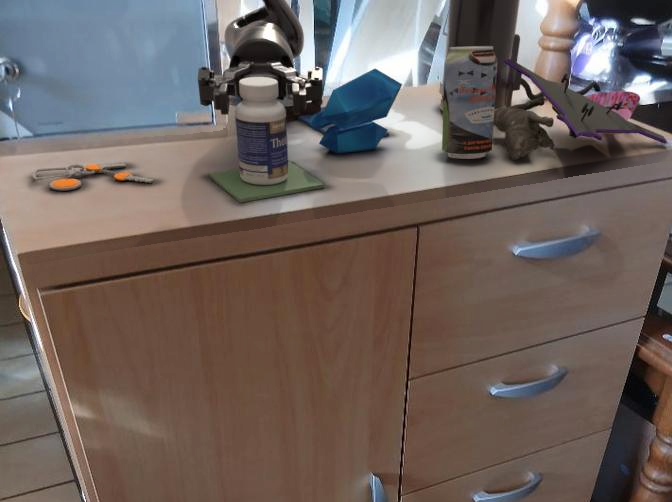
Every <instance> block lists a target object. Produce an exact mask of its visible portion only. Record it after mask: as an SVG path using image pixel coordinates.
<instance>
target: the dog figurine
mask: <svg viewBox="0 0 672 502" xmlns="http://www.w3.org/2000/svg"><path fill="white" fill-rule="evenodd" d="M544 104H545V97H543V96H542V97H540V98H538V99H533V100H530V99H529V100H527V101H526V102H524V103H519V104H514V105H511V107H507V108H500V109H497V110H496V111H494V125H493V127H495V128H496V129H497V130H498V131H499V132H501V133H504V134H505V135H504V140H505V144H506V149H507V151H508V153H509V155H510V157H511V159H512V160H513V161H516V160H518V159H520V158H522V157H524V156H527V155H528V154H529V153H530V152H531V151H534V150H536V149H538V148H539V147H541V148H543V149H547V148H549V149H550V150H554V148H555V141H554V140H553V139H552V138H551V137H550V135H549V134H548V131H547V130H546V129H545V128H544V127H543V126H545V127H548V128H552V127H553V126H554V123H555V122H554V120H555V119H554V117H553V116H551V117H548V116H540V115H538V114H537V113H536V112H534V111H533V110H531V109H533V108H536V107H542V106H544Z"/></svg>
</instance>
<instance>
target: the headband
mask: <svg viewBox="0 0 672 502" xmlns="http://www.w3.org/2000/svg"><path fill="white" fill-rule="evenodd" d="M584 96H585V97H587V98H589V99H591V100H593V101H595V102H597V103H599V104H601V105H603V106H604V107H606V108H611V107H612V106H613V105H614V104H615V103H616V104H618V103H619V102H620V101H622V105H621V107H620V108H619V110H617V111H616V107H617V106H616V105H615V106H614V108H613V109H612V111H614V112H616V113H617V114H619V115H620V116H622V117H623V118H624V119H625V120H627V121H629V119H631V117H632V116H633V114H634V112H635V110H636V108H637V107H638V104H639V102H640V101H641V96H640V94H639V93H636V92H633V91H626V90H625V91H623V90H622V91H618V90H617V91H606V92H605V91H604V92H595V93H591V94H587V95H586V94H585V95H584Z"/></svg>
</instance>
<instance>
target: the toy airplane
mask: <svg viewBox="0 0 672 502" xmlns="http://www.w3.org/2000/svg"><path fill="white" fill-rule="evenodd" d="M504 62H505V63H506V64H507V65H509V66H510V67H512V68H514V69H515V70H517V71H518V72H520V73H522V76H525V77H526V78H528V79H530V81H531V82H532V83H533V84H534V85H535V87H537V89H538V90H539V91H540V92H542V93H543V95H544V99H546V100H547V101H548V102H549V103H550V105H551V109H552V110H553V111H554V112H555V113H556V116H555V117H556V119H557V120H559V121H560V122H563V123H564V124H565V125H566V126H567V128H568V137H571V138H573V139H574V140H575V139H577V138H579V137H589V138H594V139H596V140H599V141H602V140H603V136H602V135H606V134H607V135H621V134H638V135H642V136H644V137H646V138H649V139H651V140H655V141H657V142H660V143H662V144H667V142H668V141H667V139H666V137H664V135H662V134H660V133H657V132H655V131H653V130H650V129H648V128H645V127H643V126H641V125H639V124H636V123H634V122H632V121H629V120H625V119H624V118H623V117H622V116H620V115H619V114H617V113H616V112H614V111H612V109H616V111H617V110H619V109H621V108H622V107H621V105H622V101H620V102H619V103H618V104H616V103H615V104H614V105H613V106H612V107H604V106H603V105H601V104H599V103H597V102H595V101H593V100H591V99H589V98H587V97H585V96H586V95H581V94H579V93H577V91H575V90H572V89H570V88H569V87H568V84H569V79H568V78H567V77H568V73H564V75H563V76H562V78H561V81H560V83H561V84H560V83H558V82H556V81H552V80H548V79H545V78H544V77H542V76H540V75H539V74H537V73H536V72H533V71H532V70H530V69H528V68H526V67H525V66H523V65H522V64H520V63H518V61H517V62H515V61H513V60H511V59H508V60H505V61H504ZM565 81H566V82H565ZM564 83H565V86H564V85H563V84H564ZM615 105H616V106H617V107H614V106H615Z"/></svg>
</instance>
